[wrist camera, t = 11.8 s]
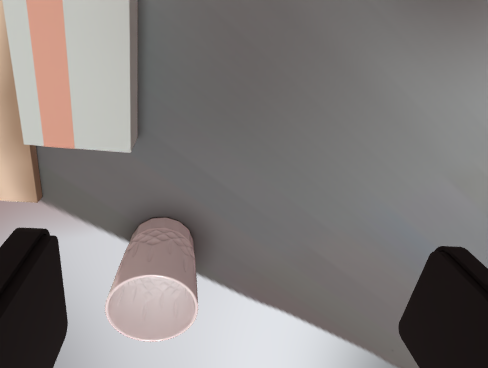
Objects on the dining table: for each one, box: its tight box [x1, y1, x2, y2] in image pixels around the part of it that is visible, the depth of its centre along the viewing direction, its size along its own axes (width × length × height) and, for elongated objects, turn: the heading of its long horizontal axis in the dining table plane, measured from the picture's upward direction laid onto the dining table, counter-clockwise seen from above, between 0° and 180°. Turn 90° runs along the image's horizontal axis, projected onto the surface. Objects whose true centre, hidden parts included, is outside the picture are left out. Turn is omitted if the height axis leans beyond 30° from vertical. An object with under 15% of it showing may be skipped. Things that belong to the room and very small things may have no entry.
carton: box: [2, 0, 137, 153], centre depth 29 cm, size 8×12×4 cm
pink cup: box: [105, 218, 198, 342], centre depth 35 cm, size 8×8×10 cm
